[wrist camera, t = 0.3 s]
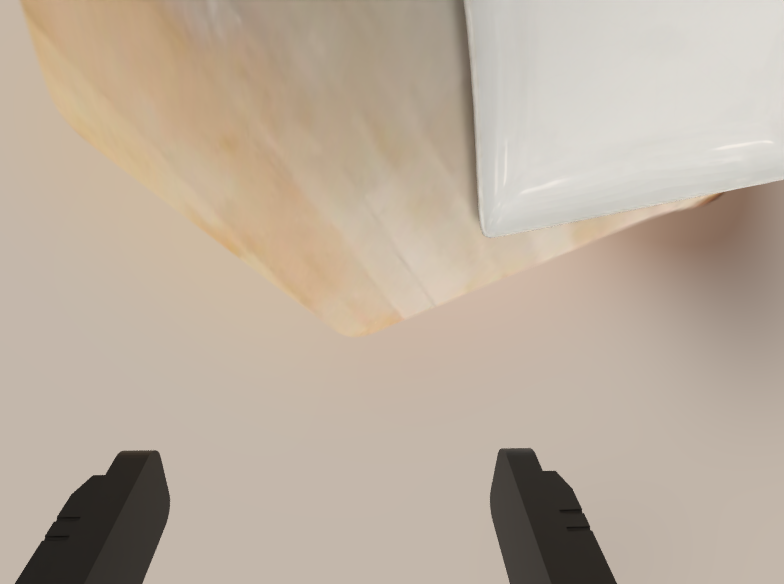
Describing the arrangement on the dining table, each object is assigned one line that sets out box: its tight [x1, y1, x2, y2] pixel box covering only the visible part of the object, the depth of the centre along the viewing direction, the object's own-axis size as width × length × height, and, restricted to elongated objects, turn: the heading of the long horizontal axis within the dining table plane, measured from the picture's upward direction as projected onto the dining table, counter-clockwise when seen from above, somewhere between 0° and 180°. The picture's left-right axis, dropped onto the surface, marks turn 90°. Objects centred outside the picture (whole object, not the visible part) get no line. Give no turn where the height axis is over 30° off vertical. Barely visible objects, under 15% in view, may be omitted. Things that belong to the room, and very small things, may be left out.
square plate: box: [463, 0, 784, 238], centre depth 31 cm, size 27×27×4 cm
